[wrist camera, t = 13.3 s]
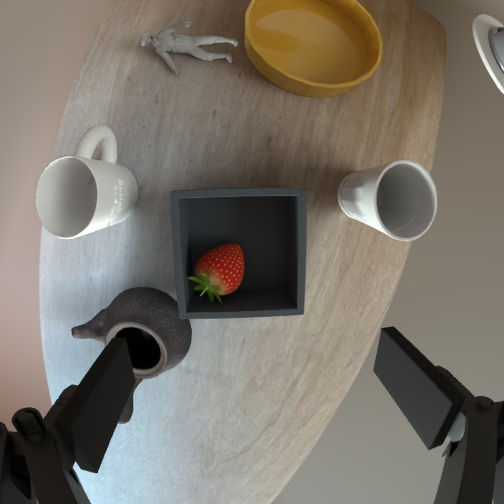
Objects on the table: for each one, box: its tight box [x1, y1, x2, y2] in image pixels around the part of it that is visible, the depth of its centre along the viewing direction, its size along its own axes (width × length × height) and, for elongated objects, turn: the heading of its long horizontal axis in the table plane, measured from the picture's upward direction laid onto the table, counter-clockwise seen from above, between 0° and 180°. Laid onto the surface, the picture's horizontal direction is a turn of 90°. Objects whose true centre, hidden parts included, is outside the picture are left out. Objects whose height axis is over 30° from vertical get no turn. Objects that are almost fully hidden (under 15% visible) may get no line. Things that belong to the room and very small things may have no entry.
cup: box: [337, 159, 437, 241], centre depth 31 cm, size 8×8×12 cm
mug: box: [35, 125, 138, 239], centre depth 28 cm, size 8×12×12 cm
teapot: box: [71, 287, 192, 424], centre depth 34 cm, size 19×15×10 cm
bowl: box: [244, 0, 383, 98], centre depth 30 cm, size 18×18×4 cm
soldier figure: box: [140, 21, 238, 76], centre depth 29 cm, size 8×5×12 cm
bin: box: [170, 188, 307, 319], centre depth 33 cm, size 14×14×8 cm
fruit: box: [187, 243, 244, 304], centre depth 33 cm, size 5×5×8 cm
